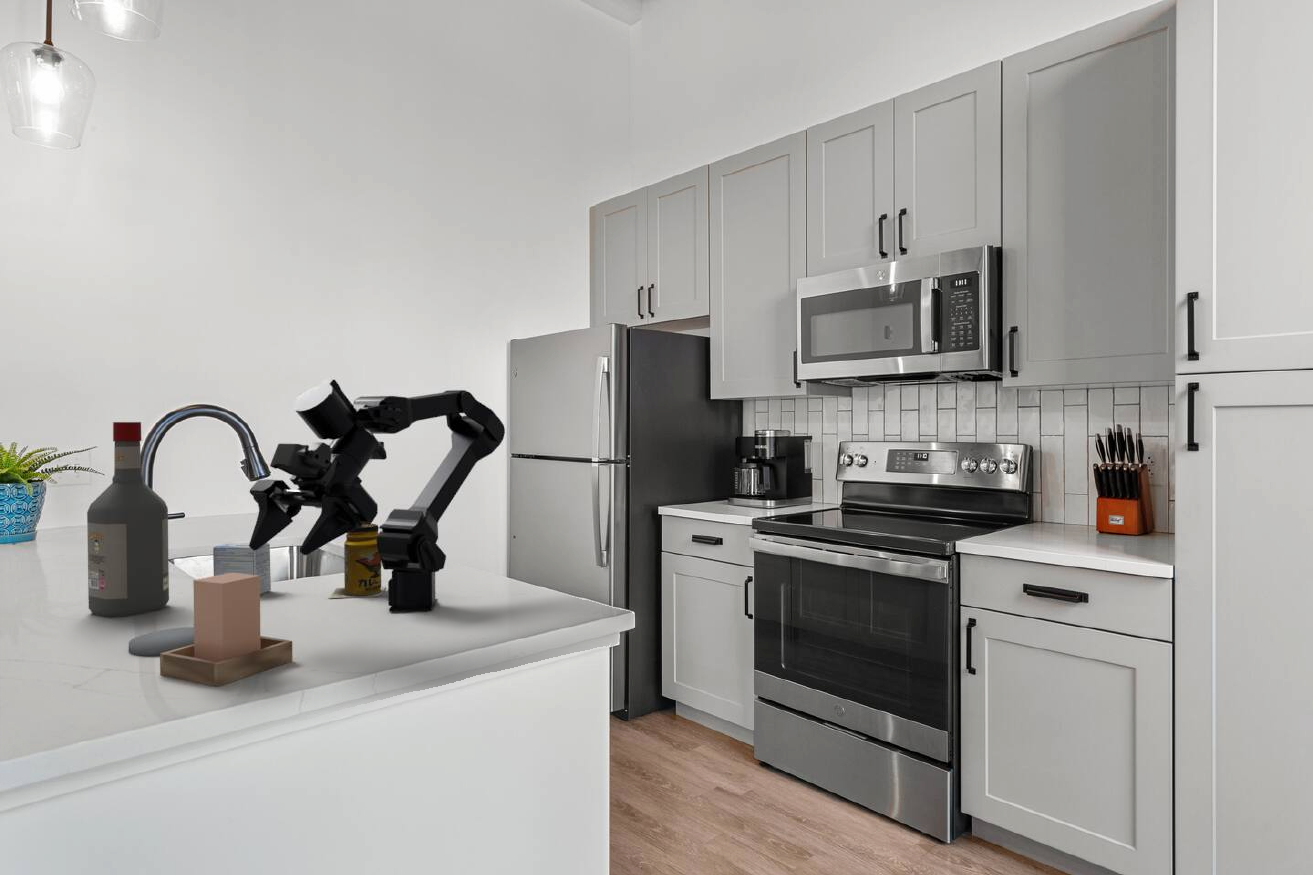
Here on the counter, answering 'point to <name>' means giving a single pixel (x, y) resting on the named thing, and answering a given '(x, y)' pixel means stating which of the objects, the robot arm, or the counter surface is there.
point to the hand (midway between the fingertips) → (276, 550)
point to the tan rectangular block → (226, 616)
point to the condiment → (361, 564)
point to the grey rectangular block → (243, 562)
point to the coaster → (161, 641)
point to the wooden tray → (225, 663)
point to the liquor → (127, 537)
